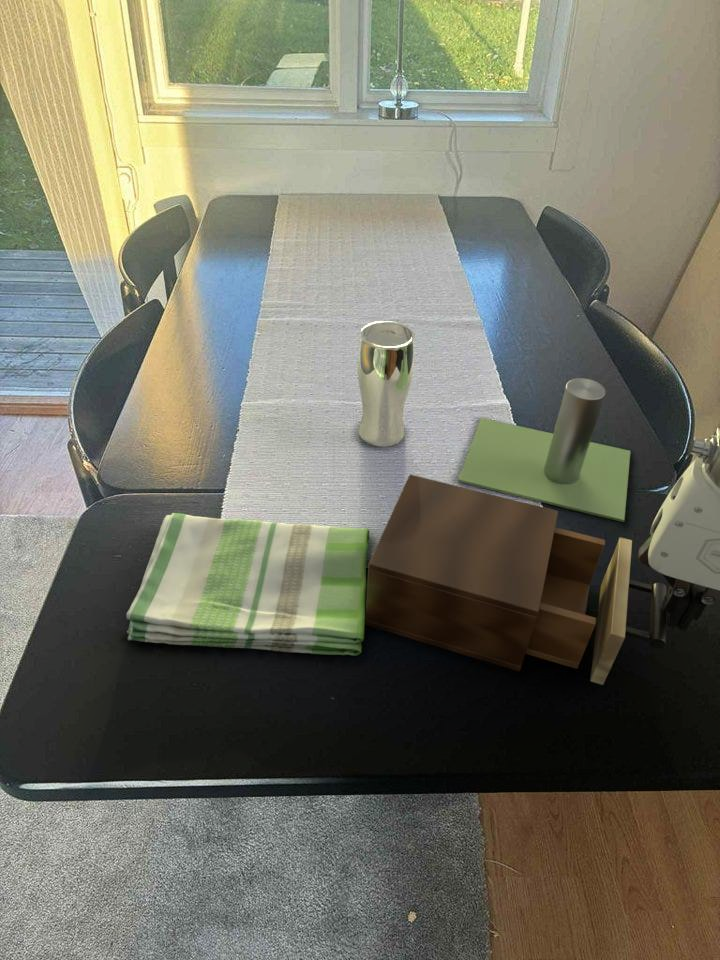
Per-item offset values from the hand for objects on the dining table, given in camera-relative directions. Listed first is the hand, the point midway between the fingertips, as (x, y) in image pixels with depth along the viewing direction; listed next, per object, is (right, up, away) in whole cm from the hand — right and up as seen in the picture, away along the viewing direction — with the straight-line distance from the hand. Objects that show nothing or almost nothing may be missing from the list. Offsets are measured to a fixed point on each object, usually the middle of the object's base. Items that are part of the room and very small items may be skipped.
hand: (676, 616), depth 65 cm
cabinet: (-19, 0, +8) cm, 21 cm away
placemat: (-5, +14, +25) cm, 29 cm away
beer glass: (-26, +19, +29) cm, 44 cm away
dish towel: (-40, +1, +9) cm, 41 cm away
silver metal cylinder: (-4, +14, +23) cm, 27 cm away
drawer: (-10, -1, +5) cm, 11 cm away
